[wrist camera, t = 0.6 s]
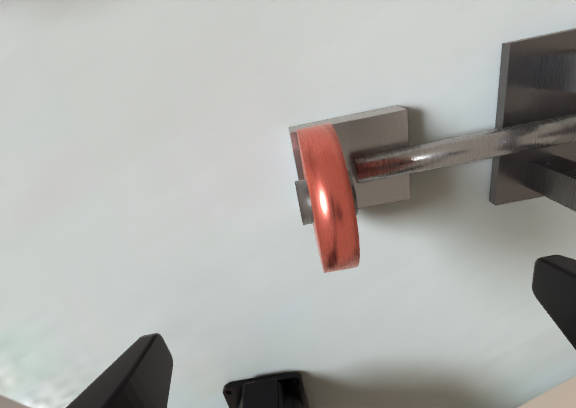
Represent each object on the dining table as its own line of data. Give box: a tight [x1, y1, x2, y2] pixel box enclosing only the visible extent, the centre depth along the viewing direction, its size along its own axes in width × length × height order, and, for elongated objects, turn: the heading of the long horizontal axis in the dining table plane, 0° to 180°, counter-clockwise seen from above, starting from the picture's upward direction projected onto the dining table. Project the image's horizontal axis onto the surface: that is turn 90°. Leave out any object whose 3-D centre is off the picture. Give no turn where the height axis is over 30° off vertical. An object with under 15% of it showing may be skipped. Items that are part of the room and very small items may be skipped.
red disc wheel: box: [289, 105, 576, 273], centre depth 14 cm, size 6×18×8 cm, turn 101°
